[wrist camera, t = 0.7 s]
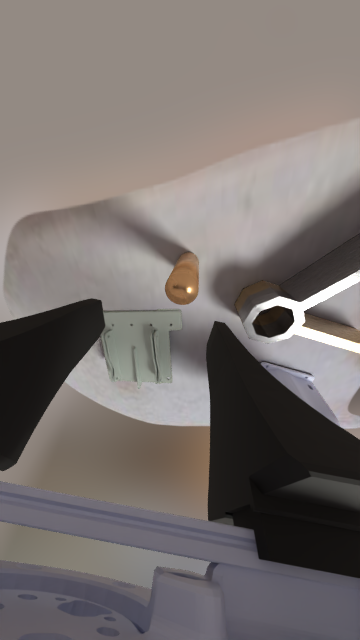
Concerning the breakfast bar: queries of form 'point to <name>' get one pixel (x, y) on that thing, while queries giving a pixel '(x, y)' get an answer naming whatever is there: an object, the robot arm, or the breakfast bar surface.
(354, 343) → the hinge
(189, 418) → the breakfast bar surface
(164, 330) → the metal bracket
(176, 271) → the hinge pin
